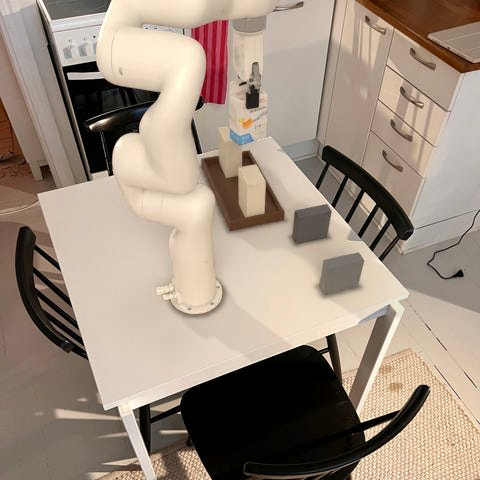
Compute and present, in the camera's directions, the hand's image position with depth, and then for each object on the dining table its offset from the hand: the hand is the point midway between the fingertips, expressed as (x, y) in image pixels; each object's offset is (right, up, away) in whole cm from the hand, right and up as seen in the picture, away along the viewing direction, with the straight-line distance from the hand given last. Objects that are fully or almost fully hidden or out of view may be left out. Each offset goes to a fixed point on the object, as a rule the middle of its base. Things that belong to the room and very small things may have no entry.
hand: (248, 100), depth 123 cm
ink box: (0, -6, +8) cm, 10 cm away
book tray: (-2, -16, +24) cm, 29 cm away
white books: (-2, -16, +24) cm, 29 cm away
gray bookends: (+19, -39, +6) cm, 44 cm away
